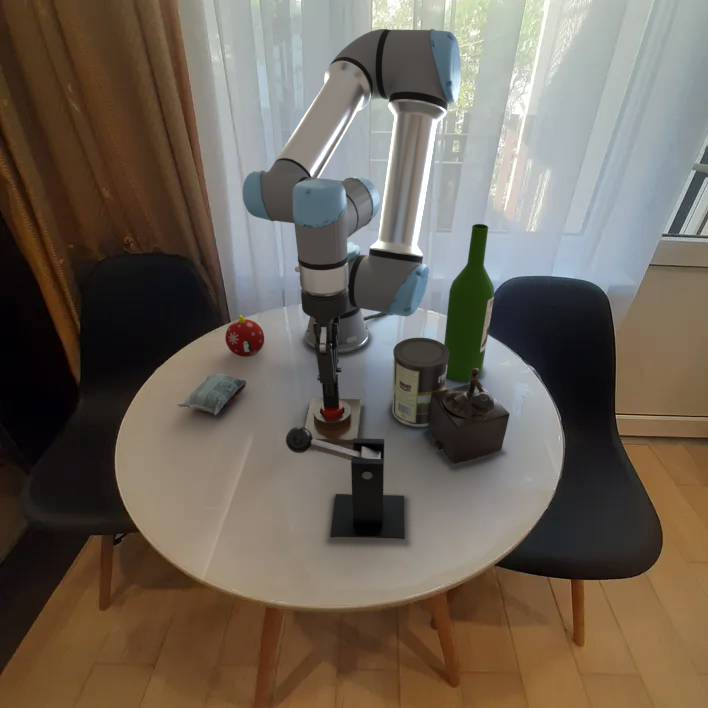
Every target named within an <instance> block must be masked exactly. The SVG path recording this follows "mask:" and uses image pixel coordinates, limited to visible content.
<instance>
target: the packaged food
mask: <svg viewBox="0 0 708 708" xmlns="http://www.w3.org/2000/svg"><path fill="white" fill-rule="evenodd" d="M247 384H248V383H247V380H245V379H242V378H239V377H236V376H231V375H229V374H228V375H227V374H221V373H217V374H216V373H212V374H210V375H207V377H206V378H205V379H204V380H203V381H202V382H201V383H200V384H199V385H198V386H197V387H196V388H195V389H194V390H193V391H192V392H191V393H190V394H189V395H188V396H186V397H185V399H183V401H182V402H180V403H177V406H178V407H180V408H188V409H193V410H198V411H203V412H209V413H210V414H213V415H214V416H220V415H221V414H222V413H223V412H224V411H225V410H226V409H227V407H228V406H229V405H230V403H232V402H233V401H234V400H235V399H236V398H237V396H239V395H240V393H241V392H242V391H244V389H245V387H246V385H247Z"/></svg>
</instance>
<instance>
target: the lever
mask: <svg viewBox="0 0 708 708" xmlns="http://www.w3.org/2000/svg"><path fill="white" fill-rule="evenodd" d="M304 427H305V426H294V427H292V428H290V430H289V431H288V432H287V434H286V436H285V444H286V447H287V449H289V451H291V452H293V453H295V454H303V453H305V452H307V451H309V450H310V449H311V450H313V451H318V452H321V453H325V454H328V455H330V456H335V457H338V458H341V459H345V460H348V461H351V459H352V458H364V459H380V456H381V452H380V451H377V450H373V449H370V448H367V447H363V446H362V448H361V450H360V452H358V451H354V450H353V449H351V448H347V447H344V446H342V445H334V444H330V443H327V442H324V441H320V440H317V439H313V438H312V434H311V432H310V431H309V430H308V429H306V428H304Z"/></svg>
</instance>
